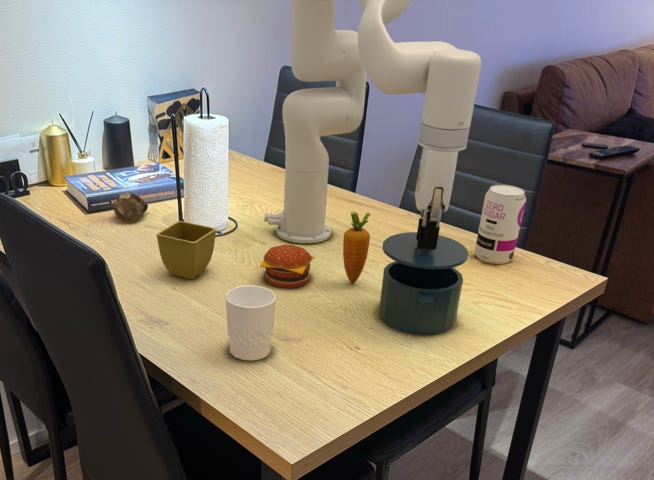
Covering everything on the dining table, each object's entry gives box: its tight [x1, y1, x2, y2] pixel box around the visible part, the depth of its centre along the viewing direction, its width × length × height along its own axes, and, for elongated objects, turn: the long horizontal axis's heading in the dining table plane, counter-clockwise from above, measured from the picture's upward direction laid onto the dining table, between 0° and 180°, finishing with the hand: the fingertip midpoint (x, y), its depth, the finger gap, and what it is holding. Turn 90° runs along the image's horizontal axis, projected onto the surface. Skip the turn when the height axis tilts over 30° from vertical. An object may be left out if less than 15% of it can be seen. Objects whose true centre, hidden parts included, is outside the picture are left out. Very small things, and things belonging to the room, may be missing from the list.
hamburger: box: [259, 244, 316, 289], centre depth 136 cm, size 9×10×7 cm
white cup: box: [225, 284, 277, 362], centre depth 111 cm, size 8×8×10 cm
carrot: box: [342, 211, 371, 285], centre depth 133 cm, size 5×5×15 cm
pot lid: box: [382, 221, 469, 269], centre depth 118 cm, size 15×15×6 cm
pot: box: [378, 260, 464, 336], centre depth 123 cm, size 14×19×8 cm
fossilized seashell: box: [113, 192, 149, 222], centre depth 164 cm, size 8×7×10 cm
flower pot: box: [156, 220, 217, 280], centre depth 137 cm, size 9×9×9 cm
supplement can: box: [473, 184, 527, 265], centre depth 146 cm, size 8×8×15 cm
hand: (425, 243), depth 118 cm, fingers closed on pot lid, 2 cm apart
